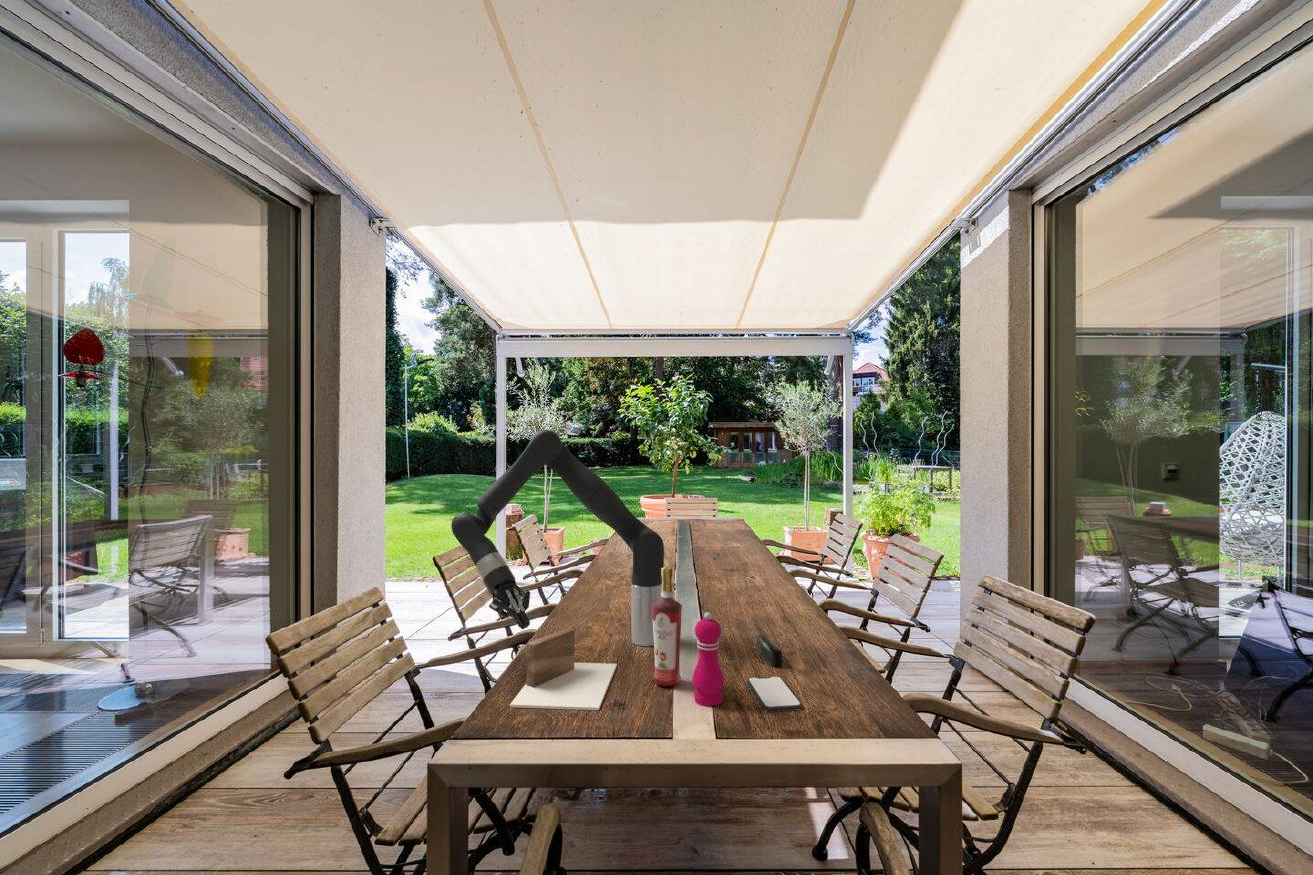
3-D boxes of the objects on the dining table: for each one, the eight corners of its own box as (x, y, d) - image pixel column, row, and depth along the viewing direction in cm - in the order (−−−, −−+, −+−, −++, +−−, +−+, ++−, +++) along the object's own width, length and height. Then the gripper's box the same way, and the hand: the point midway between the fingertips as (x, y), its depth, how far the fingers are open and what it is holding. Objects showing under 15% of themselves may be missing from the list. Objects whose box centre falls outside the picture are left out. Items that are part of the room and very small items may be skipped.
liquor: (647, 686, 139) (647, 570, 140) (658, 675, 146) (657, 564, 147) (676, 690, 137) (676, 572, 137) (685, 679, 144) (685, 566, 144)
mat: (616, 665, 153) (616, 663, 153) (598, 710, 127) (598, 707, 127) (542, 663, 154) (542, 661, 154) (510, 707, 128) (510, 704, 128)
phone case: (804, 712, 127) (780, 682, 143) (804, 705, 127) (780, 675, 143) (765, 715, 126) (745, 683, 142) (765, 707, 126) (745, 677, 142)
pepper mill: (703, 710, 127) (702, 618, 127) (686, 697, 133) (686, 610, 134) (730, 703, 130) (730, 614, 131) (712, 691, 137) (712, 606, 137)
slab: (526, 684, 139) (526, 643, 139) (566, 666, 150) (566, 628, 151) (533, 687, 137) (533, 645, 138) (574, 669, 149) (574, 630, 149)
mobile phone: (783, 649, 152) (761, 630, 166) (773, 650, 151) (751, 631, 166) (783, 668, 152) (761, 647, 166) (773, 669, 151) (751, 648, 166)
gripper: (481, 568, 150) (513, 624, 142) (520, 560, 160) (552, 612, 153) (468, 586, 153) (498, 642, 145) (507, 577, 163) (537, 628, 156)
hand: (526, 626), depth 149 cm, fingers closed
